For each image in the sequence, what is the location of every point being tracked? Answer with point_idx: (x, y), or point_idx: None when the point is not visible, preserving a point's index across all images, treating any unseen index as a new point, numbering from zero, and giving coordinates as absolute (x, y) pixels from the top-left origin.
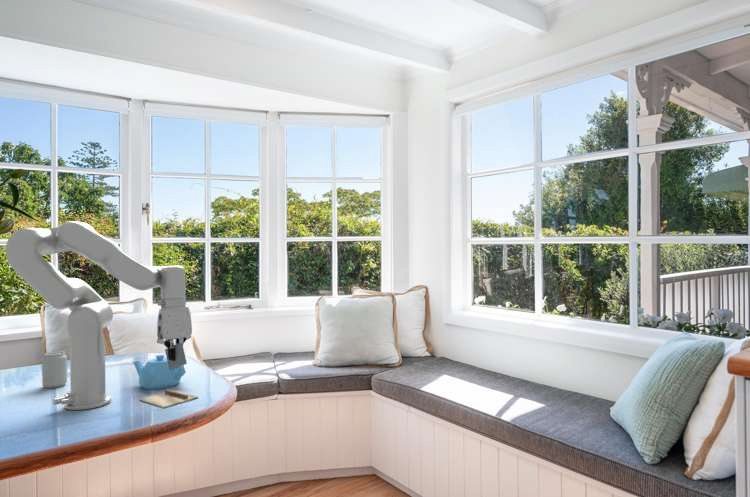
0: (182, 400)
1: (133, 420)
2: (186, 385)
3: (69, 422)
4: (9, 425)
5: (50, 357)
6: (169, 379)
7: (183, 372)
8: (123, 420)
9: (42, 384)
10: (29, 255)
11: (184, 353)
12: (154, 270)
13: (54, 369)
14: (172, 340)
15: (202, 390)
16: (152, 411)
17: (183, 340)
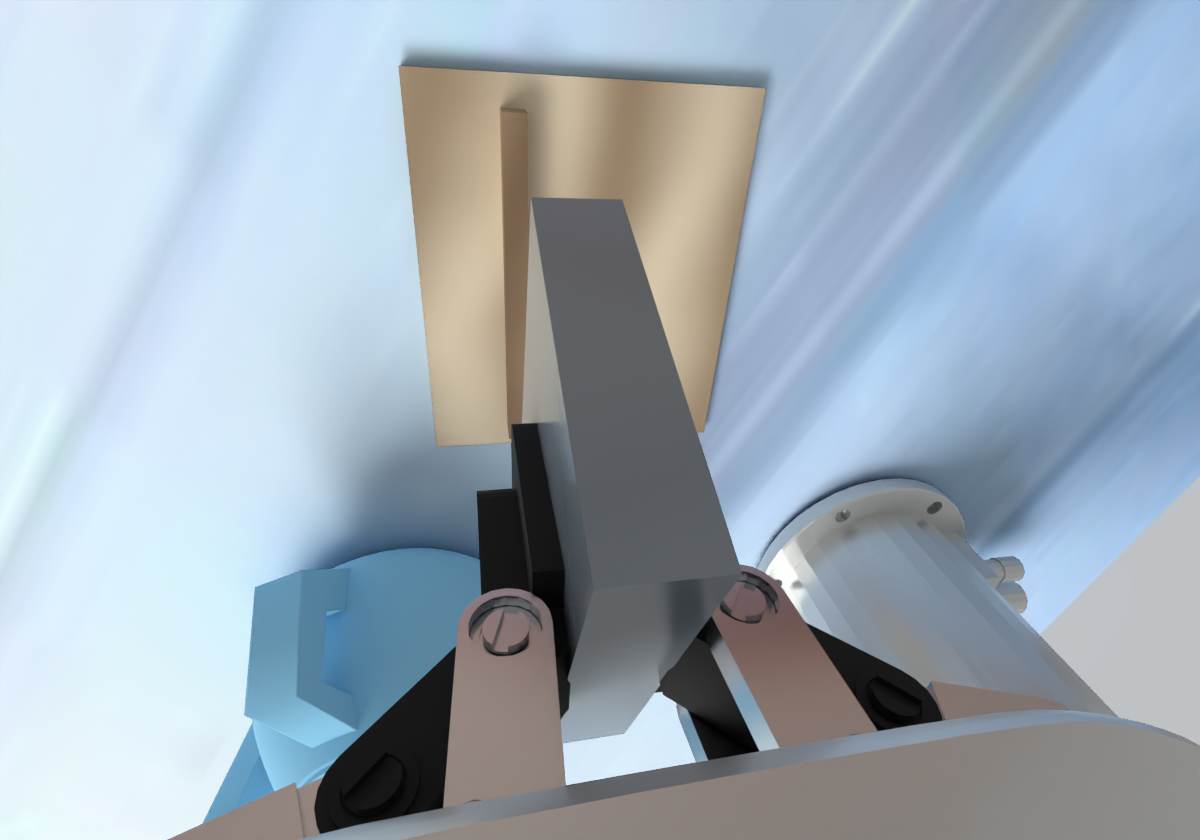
0: (562, 105)
1: (1054, 15)
2: (282, 504)
3: (1111, 356)
4: (1153, 514)
5: None
6: (407, 577)
7: (282, 585)
8: (1060, 95)
9: None
10: None
11: (554, 339)
12: None
13: None
14: (810, 740)
15: (235, 272)
16: (848, 95)
17: (416, 761)
